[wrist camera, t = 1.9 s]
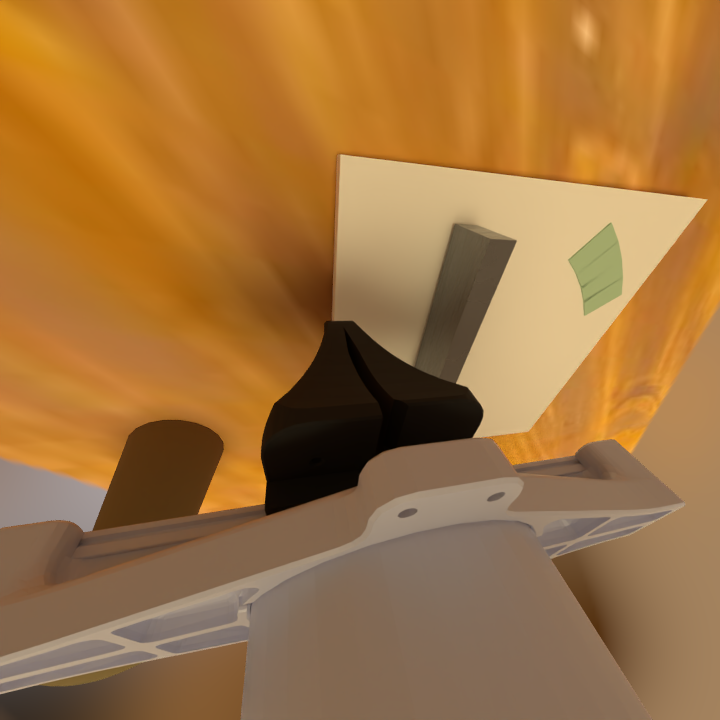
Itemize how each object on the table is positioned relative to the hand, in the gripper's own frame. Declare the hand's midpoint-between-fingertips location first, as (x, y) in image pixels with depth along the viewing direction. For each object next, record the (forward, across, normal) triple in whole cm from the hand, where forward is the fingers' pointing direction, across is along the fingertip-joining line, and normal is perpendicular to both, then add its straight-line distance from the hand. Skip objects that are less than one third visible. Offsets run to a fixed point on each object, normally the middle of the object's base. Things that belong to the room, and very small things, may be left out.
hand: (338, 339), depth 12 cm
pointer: (+2, -6, +2) cm, 7 cm away
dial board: (+3, -10, +3) cm, 11 cm away
